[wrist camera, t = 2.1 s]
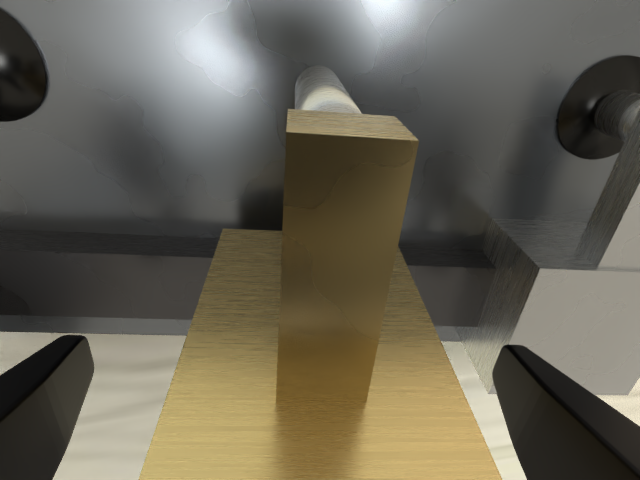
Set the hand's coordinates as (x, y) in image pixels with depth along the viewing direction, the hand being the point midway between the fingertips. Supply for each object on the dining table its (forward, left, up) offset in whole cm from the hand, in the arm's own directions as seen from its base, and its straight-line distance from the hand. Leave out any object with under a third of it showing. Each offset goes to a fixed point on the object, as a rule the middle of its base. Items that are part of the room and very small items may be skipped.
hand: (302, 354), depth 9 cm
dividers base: (+3, 0, -4) cm, 5 cm away
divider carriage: (+2, 0, -3) cm, 3 cm away
